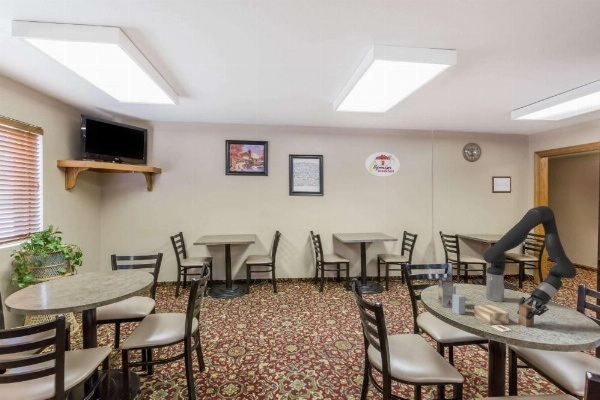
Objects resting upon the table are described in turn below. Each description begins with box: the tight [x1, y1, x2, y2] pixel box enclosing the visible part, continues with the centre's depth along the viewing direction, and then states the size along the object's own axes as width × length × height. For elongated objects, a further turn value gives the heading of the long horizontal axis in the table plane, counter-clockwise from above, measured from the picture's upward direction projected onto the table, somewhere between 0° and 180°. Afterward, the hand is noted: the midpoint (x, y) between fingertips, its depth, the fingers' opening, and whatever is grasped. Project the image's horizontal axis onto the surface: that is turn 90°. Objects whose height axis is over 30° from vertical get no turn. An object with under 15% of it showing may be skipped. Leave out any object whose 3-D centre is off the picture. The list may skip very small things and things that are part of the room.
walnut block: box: [517, 304, 535, 328], centre depth 148 cm, size 4×4×10 cm
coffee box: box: [437, 276, 454, 309], centre depth 175 cm, size 9×6×16 cm
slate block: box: [451, 293, 466, 316], centre depth 163 cm, size 4×4×10 cm
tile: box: [491, 324, 513, 333], centre depth 144 cm, size 6×6×1 cm
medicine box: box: [453, 284, 457, 295], centre depth 188 cm, size 8×4×9 cm, turn 47°
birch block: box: [473, 304, 510, 325], centre depth 154 cm, size 11×11×6 cm
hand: (522, 316), depth 148 cm, fingers closed on walnut block, 4 cm apart
